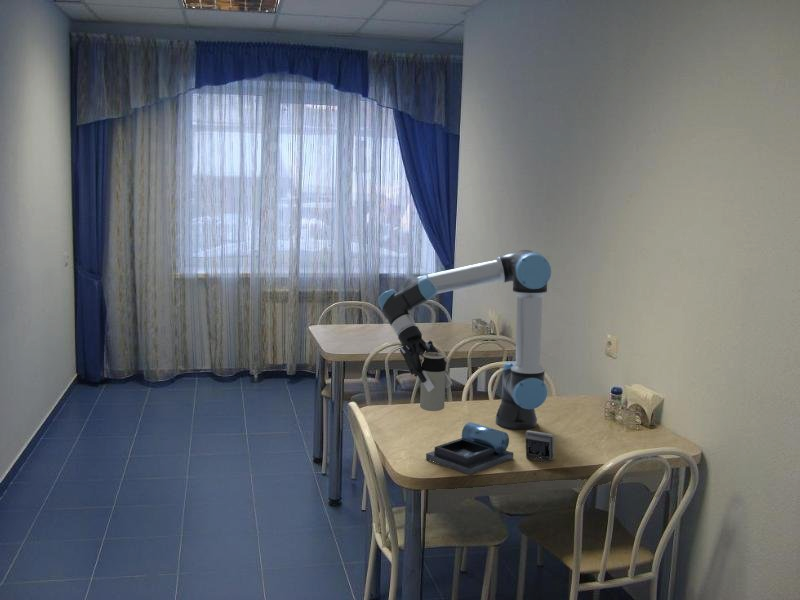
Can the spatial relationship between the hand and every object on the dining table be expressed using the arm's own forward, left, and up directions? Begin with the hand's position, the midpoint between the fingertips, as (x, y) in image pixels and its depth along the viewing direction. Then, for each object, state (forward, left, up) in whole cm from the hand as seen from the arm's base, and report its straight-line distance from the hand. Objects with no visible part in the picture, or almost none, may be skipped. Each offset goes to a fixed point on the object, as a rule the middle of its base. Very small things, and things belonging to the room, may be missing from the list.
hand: (440, 387), depth 259 cm
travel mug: (0, -3, -8) cm, 9 cm away
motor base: (-2, +12, -21) cm, 25 cm away
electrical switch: (-19, +27, -22) cm, 39 cm away
